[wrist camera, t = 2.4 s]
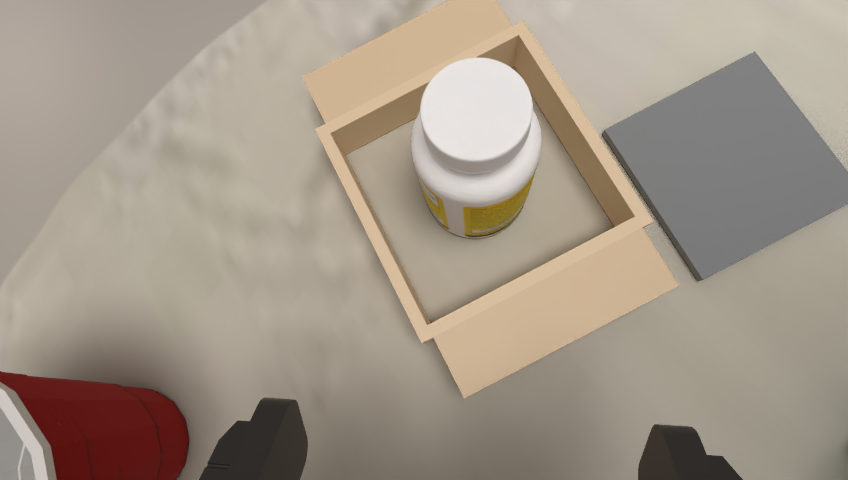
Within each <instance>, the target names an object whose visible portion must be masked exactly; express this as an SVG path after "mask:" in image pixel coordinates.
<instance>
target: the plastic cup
mask: <svg viewBox="0 0 848 480" xmlns="http://www.w3.org/2000/svg"><path fill="white" fill-rule="evenodd" d="M188 444H189V438H188V433H187V427H186V422H185V419H184V417H183V416H182V414H181V413H180V411H179V409H178V408H177V406H176V405H175V403H174V402H172V401H171V400H169V399H168V398H166V397H165V396H163V395H161V394H160V393H158V392H154V391H153V390H150V389H142V388H134V387H124V386H120V385H116V384H108V383H100V382H91V381H79V380H68V379H56V378H44V377H33V376H27V375H23V374H14V373H5V372H1V371H0V480H176V479H177V477H178V475H179V474H180V472H181V470H182V468H183V467H184V465H185V461H186V456H187V450H188Z"/></svg>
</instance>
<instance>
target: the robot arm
mask: <svg viewBox="0 0 848 480" xmlns="http://www.w3.org/2000/svg"><path fill="white" fill-rule="evenodd" d="M307 448H308V441H307V435H306V431H305V428H304V424H303V421H302V417H301V413H300V410H299V406H298V403H297V401H296V400H291V399H276V398H263V399H262V400H261V401H260V402H259V404H258V406H257V408H256V410H255V412H254V414H253V416H252V418H251V421H237V422H236V423H235V424H234V425H233V426H232V427H231V428H230V429H229V430H228V431H227V432H226V433H225V434H224V435H223V436H222V438H221V439H220V440H219V441H218V443H217V445H216V447H215V449H214V451H213V453H212V455H211V457H210V459H209V461H208V466H207V468H205V469H204V471H203V473H202V475H201V477H200V479H199V480H300V478H301V475H302V472H303V468H304V465H305V461H306V457H307ZM638 480H742V478H741V477H740V476H739V475H738V474H737V473H736V471H735V470H734V469H733V468H732V467H731V466H730V465H729V463H728V462H727V461H726V460H725V459H724V458H723V456H712V455H706V452H705V450H704V447H703V445H702V442H701V440H700V437H699V435H698V433H697V432H696V430H695V429H694V428H693V427H687V426H672V425H654V426H653V427H652V429H651V432H650V435H649V437H648V440H647V443H646V446H645V449H644V451H643V454H642V457H641V460H640V463H639V468H638Z"/></svg>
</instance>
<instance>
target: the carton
mask: <svg viewBox="0 0 848 480" xmlns="http://www.w3.org/2000/svg"><path fill="white" fill-rule="evenodd" d="M476 57H477V58H489V59H493V60H496V61H499V62H502V63H504V64H506V65H508V66H509V67H511V68H513V67H514V68H515V69H516V71H517V72H518V74H519V75H520V76H521V77H522V78H523V80H524V81H525V83H526V84H527V86H528V88H529V91H530V93H531V95H532V96H533V98H534V99H535V101H536V103H537V104H538V106H539V107H540V109H541V111H542V112H543V114H544V115H545V117H546V119H547V120H548V122H549V123H550V125H551V127H552V128H553V130H554V131H555V133H556V135H557V136H558V138H559V139H560V141H561V143H562V144H563V146H564V147H565V149H566V151H567V152H568V154H569V155H570V157H571V159H572V160H573V162H574V163H575V165H576V166H577V168H578V170H579V171H580V173H581V174H582V176H583V178H584V179H585V181H586V182H587V184H588V186H589V187H590V189H591V190H592V192H593V194H594V195H595V197H596V198H597V200H598V202H599V203H600V205H601V206H602V208H603V210H604V211H605V213H606V214H607V216H608V218H609V219H610V221H611V222H612V224H613V226H614V228H612V229H610V230H608V231H606V232H604V233H602V234H600V235H598V236H597V237H595V238H593V239H591V240H589V241H587V242H585V243H583V244H581V245H579V246H578V247H576V248H574V249H572V250H570V251H568V252H566V253H564V254H562V255H560V256H558V257H557V258H555V259H553V260H551V261H549V262H547V263H545V264H543V265H541V266H539V267H537V268H536V269H534V270H532V271H530V272H528V273H526V274H524V275H522V276H520V277H518V278H516V279H515V280H513V281H511V282H509V283H507V284H505V285H503V286H501V287H499V288H497V289H495V290H494V291H492V292H490V293H488V294H486V295H484V296H482V297H480V298H478V299H476V300H474V301H473V302H471V303H469V304H467V305H465V306H463V307H461V308H459V309H457V310H455V311H454V312H452V313H450V314H448V315H446V316H444V317H442V318H440V319H438V320H436V321H434V322H433V323H430V321H429V319H428V317H427V315H426V313H425V311H424V309H423V307H422V305H421V303H420V301H419V299H418V297H417V295H416V293H415V291H414V289H413V287H412V285H411V283H410V282H409V280H408V278H407V276H406V274H405V272H404V270H403V268H402V266H401V264H400V262H399V260H398V258H397V256H396V254H395V252H394V250H393V248H392V246H391V244H390V242H389V240H388V238H387V236H386V234H385V232H384V230H383V228H382V226H381V224H380V222H379V220H378V218H377V216H376V214H375V212H374V210H373V208H372V206H371V204H370V202H369V201H368V199H367V197H366V195H365V193H364V191H363V189H362V187H361V185H360V183H359V181H358V179H357V177H356V175H355V173H354V171H353V169H352V167H351V165H350V163H349V161H348V159H347V157H346V154H348V153H350V152H352V151H354V150H356V149H357V148H359V147H361V146H363V145H365V144H367V143H369V142H371V141H373V140H375V139H377V138H378V137H380V136H382V135H384V134H386V133H388V132H390V131H392V130H394V129H396V128H398V127H400V126H401V125H403V124H405V123H407V122H409V121H411V120H413V119H415V118H417V116H418V114H419V112H420V105H421V99H422V96H423V93H424V91H425V89H426V87H427V85H428V84H429V82H430V81H431V80H432V78H433V77H434V76H435V75H436V74H437V73H438V72H439V71H440V70H442V69H443V68H444V67H446V66H448V65H450V64H451V63H454V62H456V61H459V60H463V59H467V58H476ZM302 78H303V80H304V82H305V84H306V86H307V88H308V90H309V92H310V94H311V96H312V98H313V100H314V102H315V104H316V106H317V108H318V110H319V112H320V114H321V116H322V118H323V120H324V122H325V124H324V125H322V126H320V127H318V128H316V129H315V130H316V132H317V134H318V136H319V138H320V140H321V142H322V144H323V146H324V148H325V150H326V152H327V154H328V156H329V158H330V160H331V162H332V164H333V166H334V168H335V170H336V172H337V174H338V176H339V178H340V180H341V182H342V184H343V186H344V188H345V190H346V192H347V194H348V196H349V198H350V200H351V202H352V204H353V206H354V208H355V210H356V212H357V215H358V217H359V219H360V221H361V223H362V225H363V227H364V229H365V231H366V233H367V235H368V237H369V239H370V241H371V243H372V245H373V247H374V249H375V251H376V253H377V255H378V257H379V259H380V261H381V263H382V265H383V267H384V269H385V271H386V273H387V275H388V277H389V279H390V281H391V283H392V285H393V287H394V289H395V291H396V293H397V295H398V297H399V299H400V301H401V303H402V305H403V307H404V309H405V311H406V313H407V315H408V317H409V319H410V321H411V323H412V325H413V327H414V329H415V331H416V333H417V335H418V337H419V339H420V341H421V343H428V342H430V341H432V340H435V342H436V344H437V346H438V348H439V350H440V352H441V354H442V356H443V358H444V360H445V362H446V364H447V366H448V368H449V370H450V372H451V374H452V376H453V378H454V380H455V382H456V384H457V386H458V388H459V390H460V391H461V393H462V395H463V397H464V398H466V397H468V396H470V395H472V394H474V393H476V392H478V391H480V390H481V389H483V388H485V387H487V386H489V385H491V384H493V383H495V382H497V381H499V380H500V379H502V378H504V377H506V376H508V375H510V374H512V373H514V372H516V371H518V370H520V369H521V368H523V367H525V366H527V365H529V364H531V363H533V362H535V361H537V360H539V359H540V358H542V357H544V356H546V355H548V354H550V353H552V352H554V351H556V350H558V349H560V348H561V347H563V346H565V345H567V344H569V343H571V342H573V341H575V340H577V339H579V338H580V337H582V336H584V335H586V334H588V333H590V332H592V331H594V330H596V329H598V328H599V327H601V326H603V325H605V324H607V323H609V322H611V321H613V320H615V319H617V318H619V317H620V316H622V315H624V314H626V313H628V312H630V311H632V310H634V309H636V308H638V307H639V306H641V305H643V304H645V303H647V302H649V301H651V300H653V299H655V298H657V297H659V296H660V295H662V294H664V293H666V292H668V291H670V290H672V289H674V288H676V287H678V286H679V284H678V282H677V281H676V279H675V278H674V276H673V275H672V273H671V272H670V270H669V268H668V267H667V265H666V264H665V262H664V261H663V259H662V257H661V256H660V254H659V253H658V251H657V250H656V248H655V247H654V245H653V243H652V242H651V240H650V239H649V237H648V236H647V234H646V233H645V231H644V229H643V228H644V227H646V226H648V225H649V224H651V223H652V222H654V221H653V219H652V218H651V216H650V215H649V213H648V212H647V210H646V209H645V207H644V205H643V204H642V202H641V201H640V199H639V198H638V196H637V195H636V193H635V192H634V190H633V188H632V187H631V185H630V184H629V182H628V181H627V179H626V178H625V176H624V175H623V173H622V172H621V170H620V168H619V167H618V165H617V164H616V162H615V161H614V159H613V158H612V156H611V155H610V153H609V152H608V150H607V148H606V147H605V145H604V144H603V142H602V141H601V139H600V138H599V136H598V135H597V133H596V131H595V130H594V128H593V127H592V125H591V124H590V122H589V121H588V119H587V118H586V116H585V115H584V113H583V111H582V110H581V108H580V107H579V105H578V104H577V102H576V101H575V99H574V98H573V96H572V95H571V93H570V91H569V90H568V88H567V87H566V85H565V84H564V82H563V81H562V79H561V78H560V76H559V74H558V73H557V71H556V70H555V68H554V67H553V65H552V64H551V62H550V61H549V59H548V58H547V56H546V54H545V53H544V51H543V50H542V48H541V47H540V45H539V44H538V42H537V41H536V39H535V38H534V36H533V34H532V33H531V31H530V30H529V28H528V27H527V25H526V24H525V22H524V21H521V22H519V23H517V24H515V25H514V26H513V25H512V23H511V22H510V20H509V19H508V17H507V16H506V14H505V13H504V11H503V9H502V8H501V6H500V5H499V3H498V2H497V0H449V1H447V2H445V3H443V4H441V5H439V6H437V7H435V8H434V9H432V10H430V11H428V12H426V13H424V14H422V15H420V16H418V17H416V18H414V19H412V20H410V21H409V22H407V23H405V24H403V25H401V26H399V27H397V28H395V29H393V30H391V31H389V32H387V33H386V34H384V35H382V36H380V37H378V38H376V39H374V40H372V41H370V42H368V43H366V44H364V45H363V46H361V47H359V48H357V49H355V50H353V51H351V52H349V53H347V54H345V55H343V56H341V57H340V58H338V59H336V60H334V61H332V62H330V63H328V64H326V65H324V66H322V67H320V68H318V69H316V70H315V71H313V72H311V73H309V74H307V75H305V76H303V77H302Z"/></svg>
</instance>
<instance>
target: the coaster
mask: <svg viewBox="0 0 848 480" xmlns="http://www.w3.org/2000/svg"><path fill="white" fill-rule="evenodd" d="M602 135H603V137H604V138H605V140H606V141H607V143H608V144H609V146H610V148H611V149H612V151H613V152H614V154H615V155H616V157H617V158H618V160H619V161H620V163H621V164H622V166H623V167H624V169H625V171H626V172H627V174H628V175H629V177H630V178H631V180H632V181H633V183H634V184H635V186H636V187H637V189H638V191H639V192H640V194H641V195H642V197H643V198H644V200H645V201H646V203H647V204H648V206H649V207H650V209H651V210H652V212H653V214H654V215H655V217H656V218H657V220H658V221H659V223H660V224H661V226H662V227H663V229H664V230H665V232H666V233H667V235H668V237H669V238H670V240H671V241H672V243H673V244H674V246H675V247H676V249H677V250H678V252H679V253H680V255H681V257H682V258H683V260H684V261H685V263H686V264H687V266H688V267H689V269H690V270H691V272H692V273H693V275H694V276H695V278H696V280H697V281H700V280H704V279H705V278H707V277H709V276H711V275H713V274H715V273H717V272H719V271H721V270H723V269H724V268H726V267H728V266H730V265H732V264H734V263H736V262H738V261H740V260H742V259H744V258H745V257H747V256H749V255H751V254H753V253H755V252H757V251H759V250H761V249H763V248H764V247H766V246H768V245H770V244H772V243H774V242H776V241H778V240H780V239H782V238H784V237H785V236H787V235H789V234H791V233H793V232H795V231H797V230H799V229H801V228H803V227H804V226H806V225H808V224H810V223H812V222H814V221H816V220H818V219H820V218H822V217H824V216H825V215H827V214H829V213H831V212H833V211H835V210H837V209H839V208H841V207H843V206H844V205H846V204H848V172H847V170H846V169H845V168H844V167H843V165H842V164H841V163H840V161H839V160H838V159H837V157H836V156H835V155H834V154H833V152H832V151H831V150H830V148H829V147H828V146H827V144H826V143H825V142H824V141H823V139H822V138H821V137H820V135H819V134H818V133H817V131H816V130H815V129H814V128H813V126H812V125H811V124H810V122H809V121H808V120H807V118H806V117H805V116H804V115H803V113H802V112H801V111H800V109H799V108H798V107H797V105H796V104H795V103H794V102H793V100H792V99H791V98H790V96H789V95H788V94H787V92H786V91H785V90H784V89H783V87H782V86H781V85H780V83H779V82H778V81H777V79H776V78H775V77H774V76H773V74H772V73H771V72H770V70H769V69H768V68H767V66H766V65H765V64H764V63H763V61H762V60H761V59H760V57H759V56H758V55H757V53H756V52H753V53H751V54H749V55H747V56H745V57H743V58H742V59H740V60H738V61H736V62H734V63H732V64H730V65H728V66H726V67H724V68H722V69H720V70H719V71H717V72H715V73H713V74H711V75H709V76H707V77H705V78H703V79H701V80H699V81H698V82H696V83H694V84H692V85H690V86H688V87H686V88H684V89H682V90H680V91H678V92H677V93H675V94H673V95H671V96H669V97H667V98H665V99H663V100H661V101H659V102H657V103H656V104H654V105H652V106H650V107H648V108H646V109H644V110H642V111H640V112H638V113H636V114H634V115H633V116H631V117H629V118H627V119H625V120H623V121H621V122H619V123H617V124H615V125H613V126H612V127H610V128H608V129H606V130H605V131H604V132H603V134H602Z"/></svg>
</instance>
